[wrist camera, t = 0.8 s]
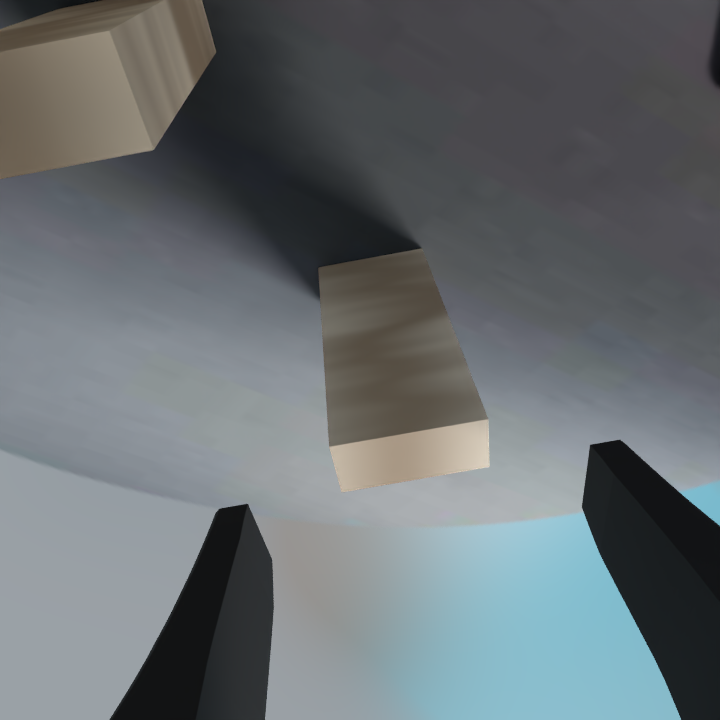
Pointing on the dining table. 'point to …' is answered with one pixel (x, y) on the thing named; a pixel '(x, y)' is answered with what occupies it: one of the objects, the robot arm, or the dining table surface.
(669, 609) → the robot arm
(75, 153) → the beige wooden block
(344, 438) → the wooden block
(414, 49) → the dining table surface
